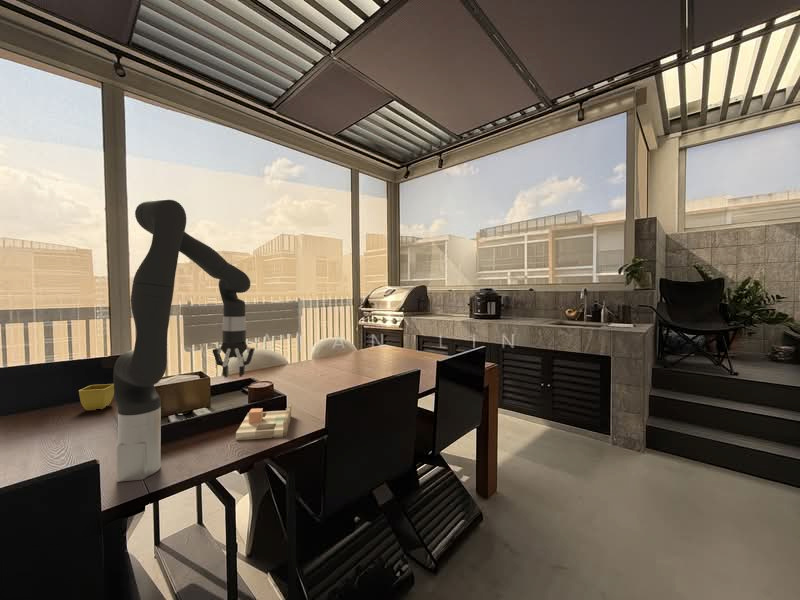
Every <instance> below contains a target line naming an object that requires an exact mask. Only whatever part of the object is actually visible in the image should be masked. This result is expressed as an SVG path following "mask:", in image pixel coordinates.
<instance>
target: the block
mask: <svg viewBox="0 0 800 600" xmlns="http://www.w3.org/2000/svg"><path fill="white" fill-rule="evenodd" d="M263 409H264V408H263V407H262V408H259V407H258V408H251V409H250V410H249V412H248V413H249V424H252V423H261V421H262V419H263V412H264V411H263Z"/></svg>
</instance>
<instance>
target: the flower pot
mask: <svg viewBox="0 0 800 600" xmlns="http://www.w3.org/2000/svg"><path fill="white" fill-rule="evenodd" d="M78 395H79V400H80V404H81V406H82V407H83V408H84V409H85V410H86V411H97V410H96V409H101V410H103V409H105V408H107V407H108V406H110V404H111V402H112V400H113V399H114V383H107V384H104V383H103V384H91V385H88V386H86V387H84V388H82V389H79V390H78ZM106 406H107V407H106Z"/></svg>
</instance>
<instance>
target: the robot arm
mask: <svg viewBox="0 0 800 600" xmlns="http://www.w3.org/2000/svg"><path fill="white" fill-rule="evenodd" d="M134 217H135V219H136V222H137V223H138V225H139V226H140V227H141V228H142V229H144V230H145V231H146V232H148V233H150V234H151V235H152V240H151V244H150V248H149V250H148V252H147V254H146V255H145V257H144V259H143V260H142V261H141V263H140V265H139V266H138V268H137V270H136V272H135V274H134V277H133V279H132V286H131V293H130V294H131V295H130V307H131V313H132V317H133V321H134V325H135V331H136V332H135V343H134V346H133V347H134V348H133V349H132V350H131V349H130V350H128V351H126V352H124V353H122V354H121V355H120V356H119V357H118V358H117V360H116V361H115V364H114V366H113V372H112V373H113V374H112V376H113V377H112V378H113V384H114V396H113V399H114V402H115V405H116V406H117V447H116V482H118V483H119V482H130V481H139V480H140V481H141V480H145V479H146V478H147V477H149V476H151V475H153V474H155V473H156V472H159V470H160V469H161V456H162V455H161V440H162V438H161V435H162V433H161V431H162V430H161V429H162V428H161V425H162V423H161V422H162V421H161V415H162V413H161V412H162V409H161V408H162V404H161V403H162V400H161V396H160V395H159V393H158V392H157V391H156V388H155V385H156V384H158V383H159V382H160V381H161V380H162V379H163V377H164V375H165V374H166V371H167V364H168V333H169V325H170V320H171V319H170V318H171V308H172V303H173V299H174V293H175V292H174V290H175V289H174V288H175V282H176V280H175V279H176V274H177V268H178V261H179V260H178V259H179V253H181V254H182V255H184V256H185V257H187V258H188V259H190V261H192V262H193V263H195V264H196V265H197V266H198V267H200V269H202V270H203V271H204V272H205V273H206V274H208V276H210V277H211V278H213V279H216V280H219V281H218V290H219V293H220V297H221V298H220V299H221V301H222V304H223V313H222V315H223V317H222V331H221V332H222V333H221V334H222V335H221V336H222V337H221V338H222V344H221V346H219V347H215V348H213V349H212V354H213V357H214V360H215V362H216V365H217V366H220V367H222V376H224V378H228V377H229V362H230V360H231V359H232V358H237V361H238V362H239V366H238V368H239V373H238V374H239V375H238V376H239V378H241V377H244V375H245V373H246V372H245V367H246V366H247V365H249V364H251V362H252V359H253V355H254V353H255V350H256V349H255V347H250V346H248V345H247V343H246V342H247V341H246V340H247V319H246V302H245V301H244V300H242V299H240V298H239V297H238V294H243V293H246V292H248V290H250V288H251V280H250V277H249V276H248V275H247V274H246V273H245V272H244V271H242V270H241V269H239V268H238V267H236V266H234V265H233V264H231V263H229V262H228V261H227V260H226V259H225V258H224V257H223V256H222V255H221V254H219V253H218V252H217V251H216V250H215V249H214V248H212V247H211V246H209V245H208V244H205V243H204V242H202V241H200V240H199V239H197V238H195V237H194V236H192V235H190V234H189V233H187V232H186V227H187V214H186V211H185V209H184V207H183V205H182V203H179V202H178V201H177V200H174V199H170V198H169V199H168V198H166V199H165V198H163V199H154V200H148V201H143V202H141V203H139V204H138V205H137V206H136V208H135V210H134ZM245 351H247V352H246V353H247V354H248V355H247V357H246V360H245V356H244V353H245ZM222 352H223V354H224V359H222V356H221V353H222Z"/></svg>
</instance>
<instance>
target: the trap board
mask: <svg viewBox="0 0 800 600" xmlns="http://www.w3.org/2000/svg"><path fill="white" fill-rule="evenodd" d="M291 417H292V403H288V406H287V409H286V410H271V411H263V419H262V421H261V423H252V424H249V412H247V414H246V416H245V417H244V419H243V421H242V422H241V424H240V426H239V427H238V428H237V430H236V431H235V441H243V440H244V441H245V440H259V439H272V437H274V438H284V437H283V436H286V437H287V436H288V435H287V434H288V429H289V426H290V422H291V419H292V418H291Z"/></svg>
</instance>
